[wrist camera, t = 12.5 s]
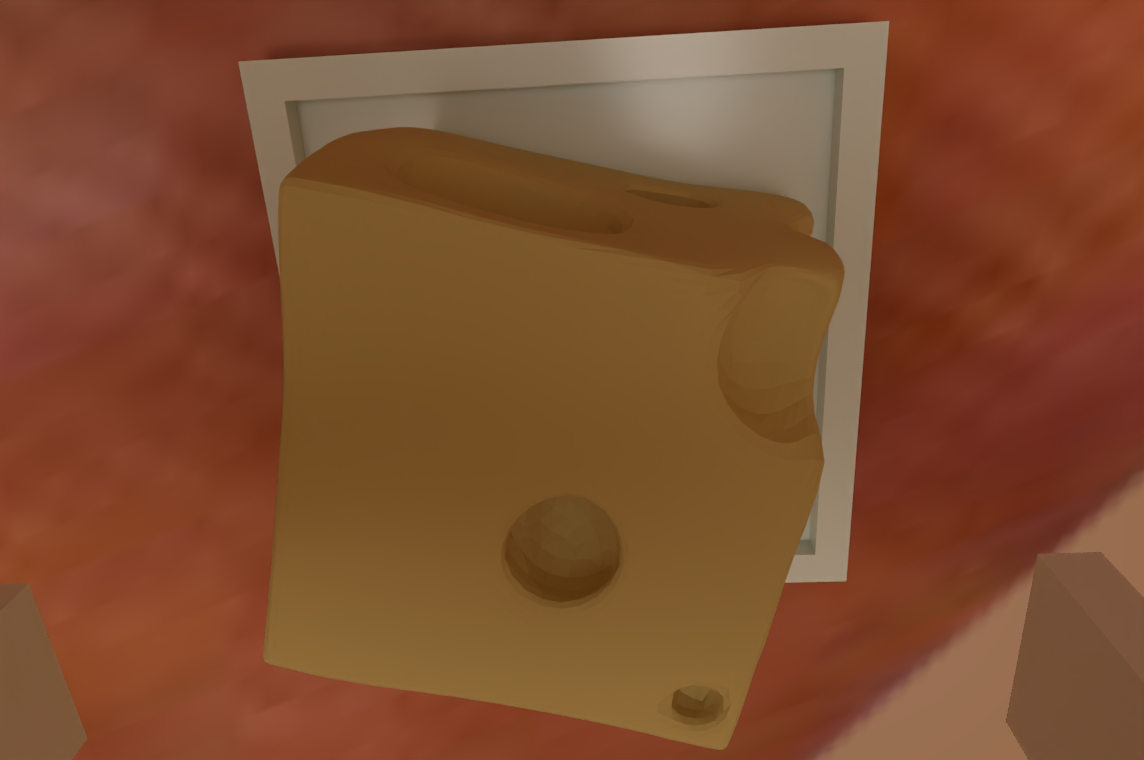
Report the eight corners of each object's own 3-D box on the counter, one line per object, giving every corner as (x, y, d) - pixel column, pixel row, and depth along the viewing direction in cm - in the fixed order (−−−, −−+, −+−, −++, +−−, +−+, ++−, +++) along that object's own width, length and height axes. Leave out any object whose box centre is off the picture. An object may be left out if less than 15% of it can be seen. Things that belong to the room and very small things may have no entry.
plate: (265, 60, 23) (238, 61, 21) (867, 22, 22) (889, 20, 20) (356, 560, 29) (340, 592, 27) (831, 548, 28) (846, 581, 26)
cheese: (792, 190, 22) (923, 293, 13) (690, 527, 26) (734, 790, 17) (409, 106, 22) (262, 151, 13) (364, 462, 26) (227, 695, 17)
